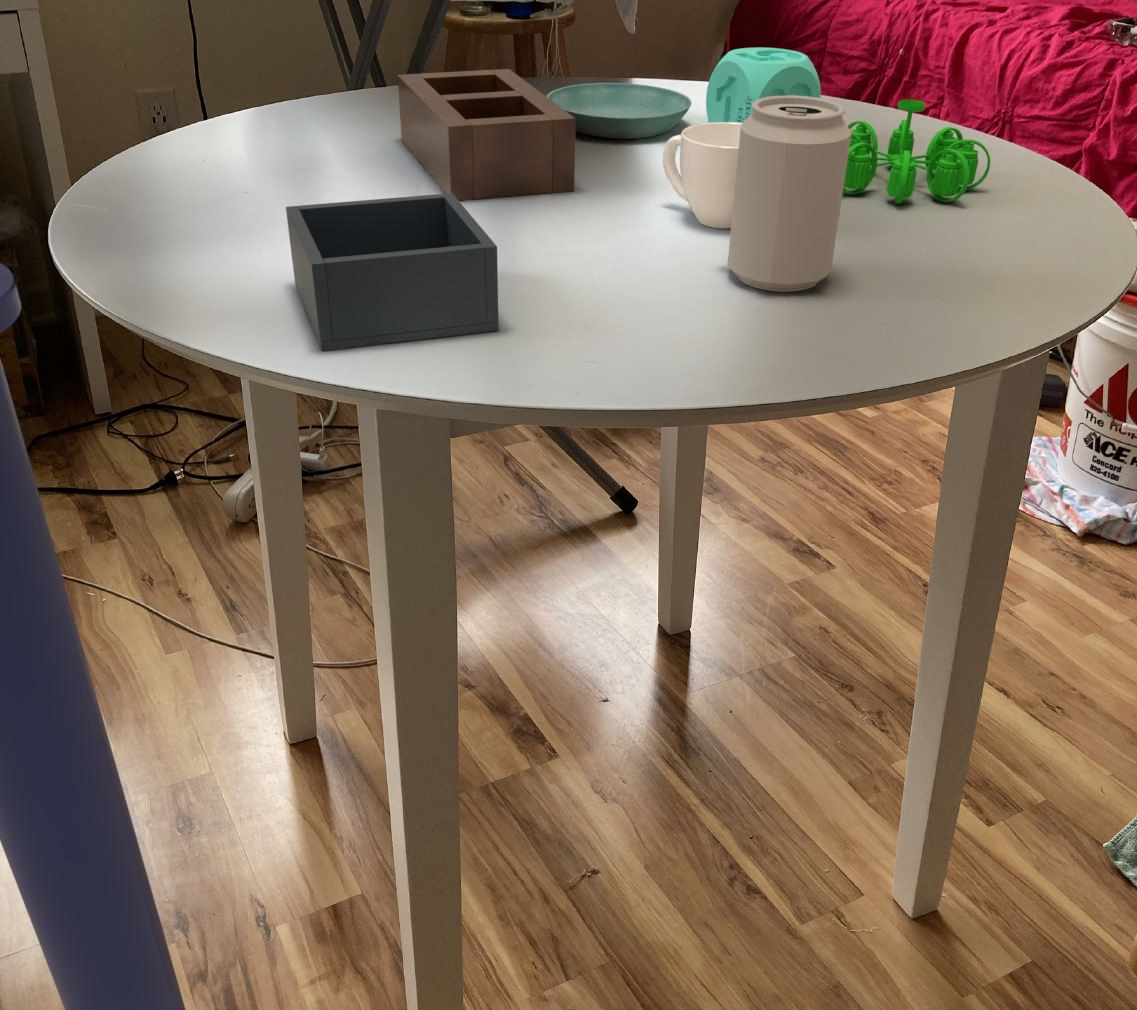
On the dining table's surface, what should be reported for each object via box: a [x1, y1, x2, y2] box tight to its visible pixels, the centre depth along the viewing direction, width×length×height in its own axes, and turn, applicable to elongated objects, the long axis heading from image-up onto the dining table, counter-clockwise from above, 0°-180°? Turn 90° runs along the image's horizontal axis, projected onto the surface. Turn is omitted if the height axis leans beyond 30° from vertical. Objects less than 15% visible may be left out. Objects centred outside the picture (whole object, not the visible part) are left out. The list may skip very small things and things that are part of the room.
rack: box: [397, 68, 576, 201], centre depth 107 cm, size 11×20×6 cm, turn 19°
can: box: [726, 95, 852, 293], centre depth 83 cm, size 8×8×12 cm
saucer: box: [546, 82, 693, 140], centre depth 120 cm, size 15×15×3 cm
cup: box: [662, 122, 742, 230], centre depth 95 cm, size 8×10×7 cm
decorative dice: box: [705, 47, 822, 123], centre depth 114 cm, size 8×8×8 cm
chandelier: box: [843, 99, 991, 205], centre depth 103 cm, size 15×15×7 cm
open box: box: [285, 193, 500, 351], centre depth 79 cm, size 12×12×6 cm
